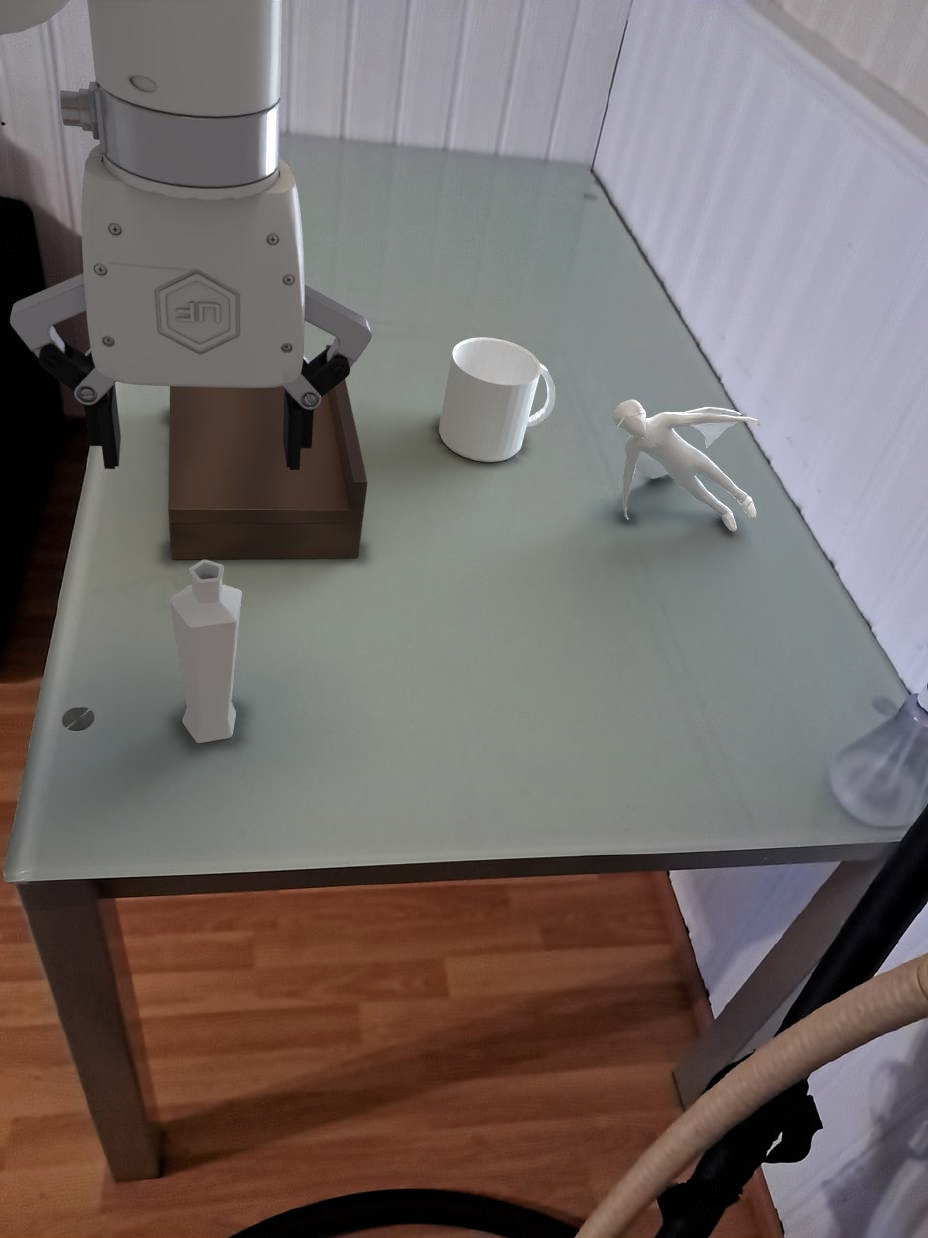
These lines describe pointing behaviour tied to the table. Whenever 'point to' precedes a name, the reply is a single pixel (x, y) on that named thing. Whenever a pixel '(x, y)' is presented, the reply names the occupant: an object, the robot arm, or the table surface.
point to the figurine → (679, 452)
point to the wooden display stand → (261, 477)
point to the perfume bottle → (207, 650)
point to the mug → (491, 398)
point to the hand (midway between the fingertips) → (204, 454)
